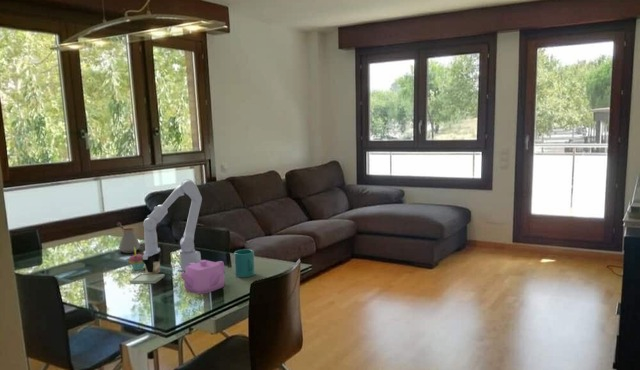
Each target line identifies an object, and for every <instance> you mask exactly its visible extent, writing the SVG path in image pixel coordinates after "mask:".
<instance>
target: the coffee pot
mask: <svg viewBox="0 0 640 370" xmlns="http://www.w3.org/2000/svg"><path fill="white" fill-rule="evenodd" d="M117 225H118V226H119V227H120V228H121V229H122V232H123V234H122V238H121V240H120V242H119V246H118V249H119V251H121V252H122V253H124V254H131V253H135V251H134V247H135V249H136V252H138V250H139V249H140V248H141V244H140V242H139V240H138V238H137V237H136V234H135V233H134V232H135V228H133V227H129V228H124V226H123V225H122V223H121V222H120V221H118V222H117Z"/></svg>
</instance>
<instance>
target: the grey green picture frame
mask: <svg viewBox="0 0 640 370" xmlns="http://www.w3.org/2000/svg"><path fill="white" fill-rule="evenodd" d="M165 277H166V275H165V273H157V274H146V273H140V274H139V273H138V275H136V276H135V277H133V278H131V279H130V280H129V283H130V284H157V283H158V282H159V281H161V280H162V279H163V278H165Z"/></svg>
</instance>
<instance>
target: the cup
mask: <svg viewBox="0 0 640 370" xmlns="http://www.w3.org/2000/svg"><path fill="white" fill-rule="evenodd" d="M233 255H234V257H233V258H234V271H235V272H234V274H235V276H236V277H237V278H242V279H244V278H251V277H253V276H254V275H256V271H255V269H256V268H255V267H256V266H255V252H254V250H253V249H245V248H243V249H238V250H235V251H234V252H233Z"/></svg>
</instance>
